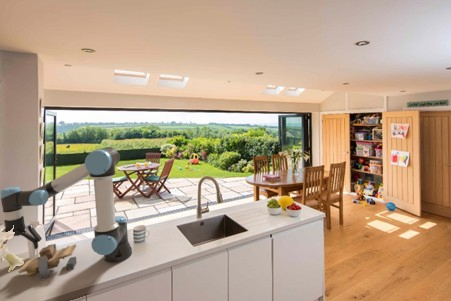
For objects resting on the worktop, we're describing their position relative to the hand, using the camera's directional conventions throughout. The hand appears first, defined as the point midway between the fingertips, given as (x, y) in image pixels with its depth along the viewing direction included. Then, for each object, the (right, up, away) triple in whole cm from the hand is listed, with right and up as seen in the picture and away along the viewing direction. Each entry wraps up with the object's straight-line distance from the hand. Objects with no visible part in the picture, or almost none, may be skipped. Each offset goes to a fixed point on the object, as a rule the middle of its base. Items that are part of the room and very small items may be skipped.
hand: (19, 257), depth 127 cm
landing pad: (+22, -9, +8) cm, 25 cm away
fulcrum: (+12, -9, +5) cm, 16 cm away
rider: (+12, -2, +4) cm, 13 cm away
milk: (-4, -8, +19) cm, 21 cm away
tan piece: (+13, -7, +5) cm, 16 cm away
